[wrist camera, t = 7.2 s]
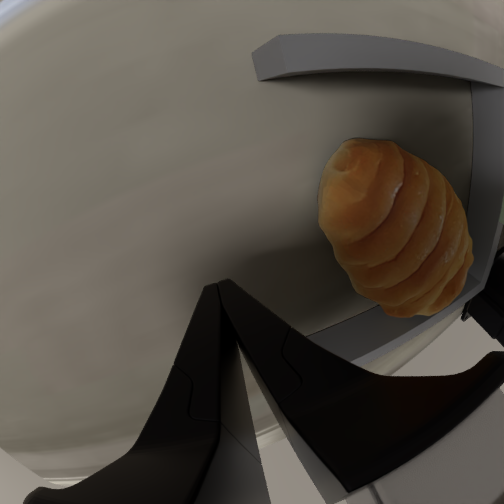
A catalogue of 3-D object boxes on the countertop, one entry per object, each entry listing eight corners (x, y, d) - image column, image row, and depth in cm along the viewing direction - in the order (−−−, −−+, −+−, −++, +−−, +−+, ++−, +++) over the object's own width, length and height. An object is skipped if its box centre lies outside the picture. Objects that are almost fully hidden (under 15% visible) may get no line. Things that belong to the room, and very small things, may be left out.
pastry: (264, 227, 10) (305, 287, 7) (365, 91, 9) (441, 97, 5) (384, 302, 15) (422, 345, 12) (450, 213, 13) (498, 244, 10)
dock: (476, 66, 8) (520, 74, 6) (461, 269, 16) (489, 293, 13) (251, 53, 7) (288, 29, 4) (305, 348, 14) (328, 392, 12)
